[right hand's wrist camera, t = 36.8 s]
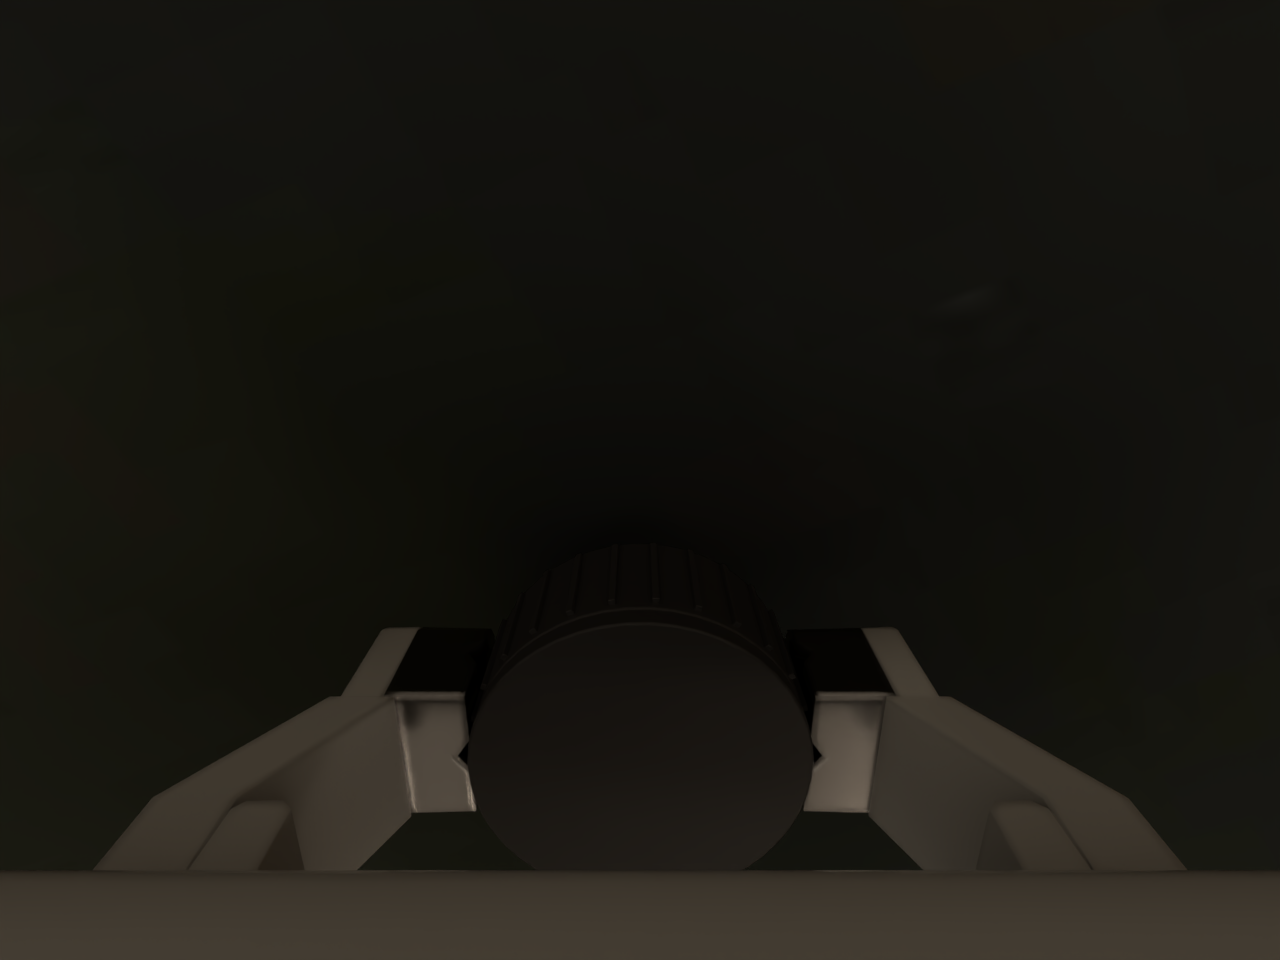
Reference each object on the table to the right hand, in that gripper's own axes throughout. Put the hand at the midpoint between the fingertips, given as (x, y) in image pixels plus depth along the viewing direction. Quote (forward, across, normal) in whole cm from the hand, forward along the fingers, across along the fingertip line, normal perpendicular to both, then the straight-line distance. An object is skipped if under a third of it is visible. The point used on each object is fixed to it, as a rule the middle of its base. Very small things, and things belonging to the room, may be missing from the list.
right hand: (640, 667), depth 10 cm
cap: (-2, 0, 0) cm, 2 cm away
